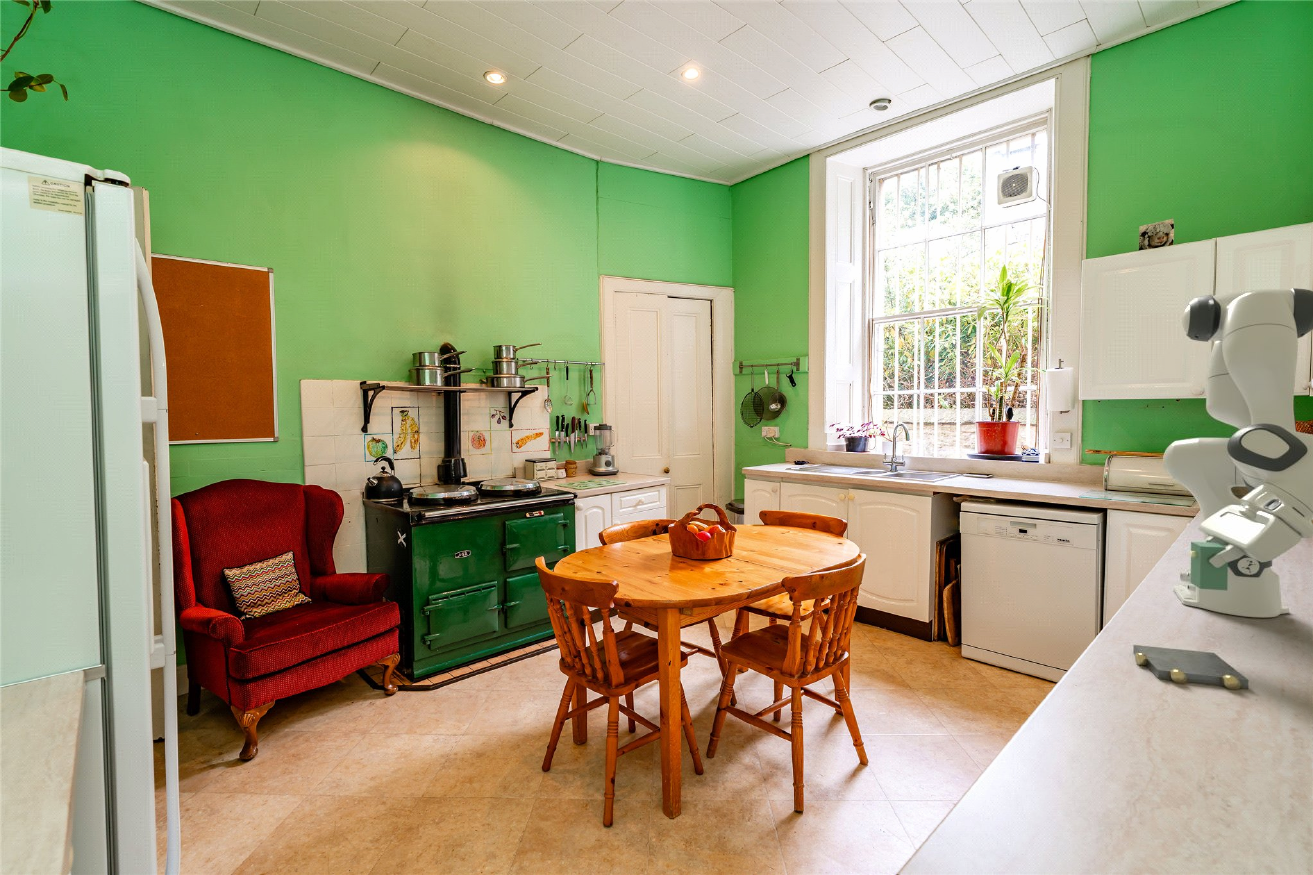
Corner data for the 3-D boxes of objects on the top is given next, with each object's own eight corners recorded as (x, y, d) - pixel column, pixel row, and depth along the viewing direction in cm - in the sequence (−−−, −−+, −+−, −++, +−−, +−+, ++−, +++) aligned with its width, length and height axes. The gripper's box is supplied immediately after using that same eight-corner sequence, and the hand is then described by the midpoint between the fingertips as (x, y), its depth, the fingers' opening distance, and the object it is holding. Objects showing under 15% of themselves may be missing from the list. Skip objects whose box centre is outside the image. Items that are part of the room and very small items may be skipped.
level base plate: (1125, 651, 116) (1125, 641, 116) (1213, 660, 112) (1213, 649, 111) (1152, 680, 104) (1152, 668, 104) (1252, 692, 99) (1252, 679, 99)
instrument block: (1186, 582, 118) (1187, 541, 118) (1216, 584, 117) (1217, 542, 116) (1196, 588, 115) (1196, 546, 114) (1227, 590, 113) (1227, 547, 113)
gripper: (1229, 490, 122) (1167, 536, 126) (1290, 507, 103) (1215, 561, 107) (1257, 513, 120) (1194, 559, 124) (1324, 534, 101) (1247, 588, 105)
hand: (1204, 560), depth 116 cm, fingers closed on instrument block, 4 cm apart
